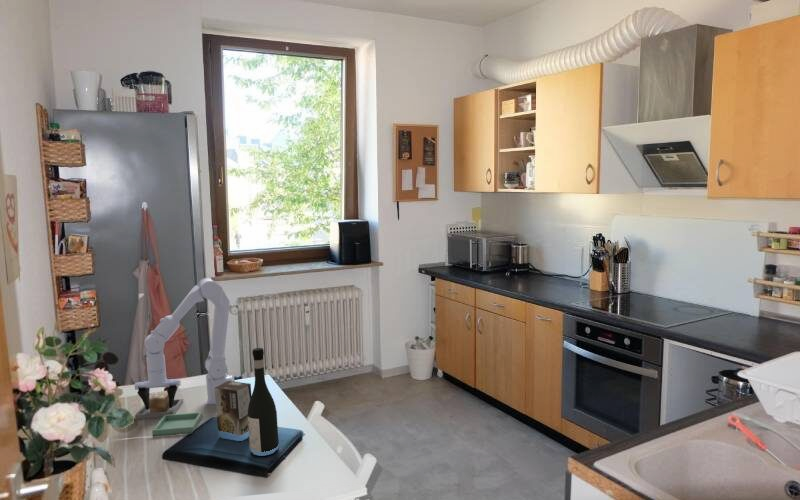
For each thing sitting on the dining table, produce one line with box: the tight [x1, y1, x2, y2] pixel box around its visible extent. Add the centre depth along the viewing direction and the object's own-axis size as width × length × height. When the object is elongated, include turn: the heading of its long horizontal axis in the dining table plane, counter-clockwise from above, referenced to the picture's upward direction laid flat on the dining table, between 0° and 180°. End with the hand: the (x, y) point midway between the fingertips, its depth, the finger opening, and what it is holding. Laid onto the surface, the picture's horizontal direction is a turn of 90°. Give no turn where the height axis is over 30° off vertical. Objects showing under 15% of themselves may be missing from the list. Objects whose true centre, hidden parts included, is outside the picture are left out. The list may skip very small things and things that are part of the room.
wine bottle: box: [248, 347, 280, 452], centre depth 155 cm, size 8×8×30 cm
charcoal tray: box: [134, 398, 184, 420], centre depth 189 cm, size 12×12×2 cm
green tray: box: [151, 411, 203, 438], centre depth 176 cm, size 12×12×2 cm
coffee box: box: [214, 381, 252, 435], centre depth 167 cm, size 9×6×16 cm
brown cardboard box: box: [149, 393, 169, 413], centre depth 189 cm, size 5×5×5 cm
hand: (159, 407), depth 189 cm, fingers open, 7 cm apart
